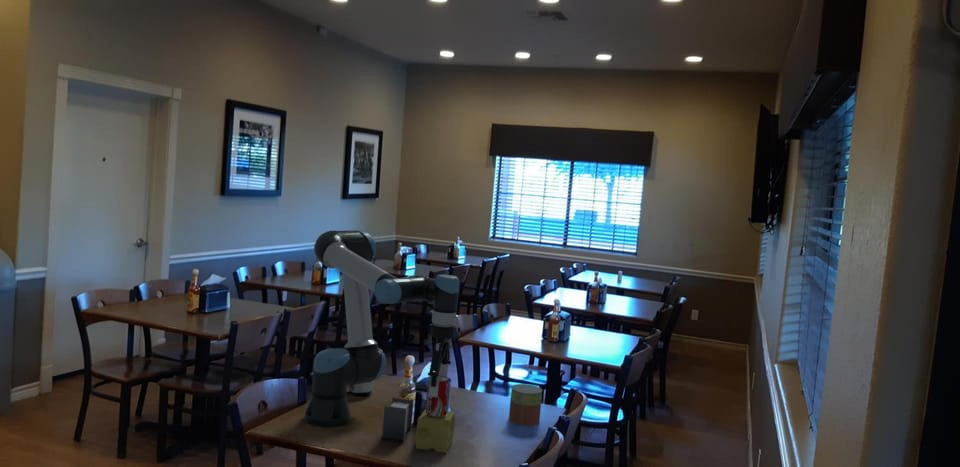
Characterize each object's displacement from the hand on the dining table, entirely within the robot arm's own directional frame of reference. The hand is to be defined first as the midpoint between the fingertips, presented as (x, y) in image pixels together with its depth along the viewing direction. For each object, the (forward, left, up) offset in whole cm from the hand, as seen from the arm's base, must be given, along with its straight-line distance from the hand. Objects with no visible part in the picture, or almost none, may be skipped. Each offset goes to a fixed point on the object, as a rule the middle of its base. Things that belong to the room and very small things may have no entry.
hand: (437, 390), depth 219 cm
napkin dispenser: (-13, +3, -18) cm, 22 cm away
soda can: (0, 0, -8) cm, 8 cm away
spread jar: (-40, +40, -18) cm, 59 cm away
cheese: (0, 0, -18) cm, 18 cm away
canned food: (+26, +34, -18) cm, 47 cm away
